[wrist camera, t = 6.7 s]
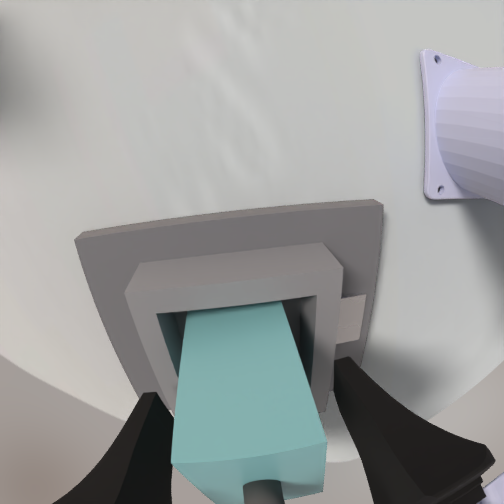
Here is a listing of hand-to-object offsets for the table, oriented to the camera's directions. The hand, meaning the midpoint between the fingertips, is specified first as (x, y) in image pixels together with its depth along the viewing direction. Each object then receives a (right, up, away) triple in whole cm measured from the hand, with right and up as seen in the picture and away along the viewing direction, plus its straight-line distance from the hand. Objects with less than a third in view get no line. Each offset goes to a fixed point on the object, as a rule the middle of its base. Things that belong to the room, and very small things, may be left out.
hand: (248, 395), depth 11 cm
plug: (0, +2, +4) cm, 4 cm away
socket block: (0, +2, +4) cm, 5 cm away
